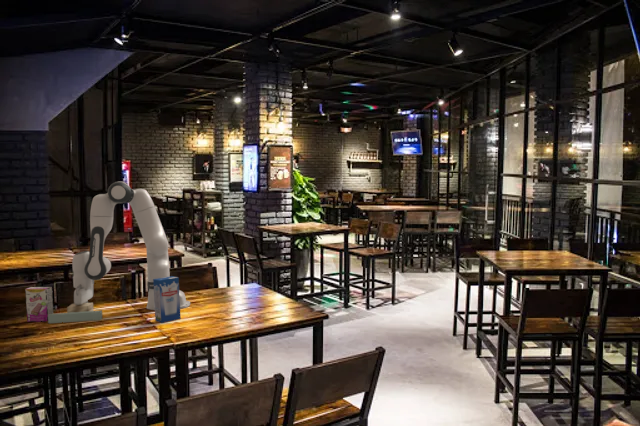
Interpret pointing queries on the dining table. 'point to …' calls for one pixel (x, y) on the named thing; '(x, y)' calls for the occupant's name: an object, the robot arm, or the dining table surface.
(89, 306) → the block
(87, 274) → the robot arm
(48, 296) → the candy bar box
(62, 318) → the pale grey bar
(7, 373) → the dining table surface
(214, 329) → the dining table surface
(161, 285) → the milk carton
